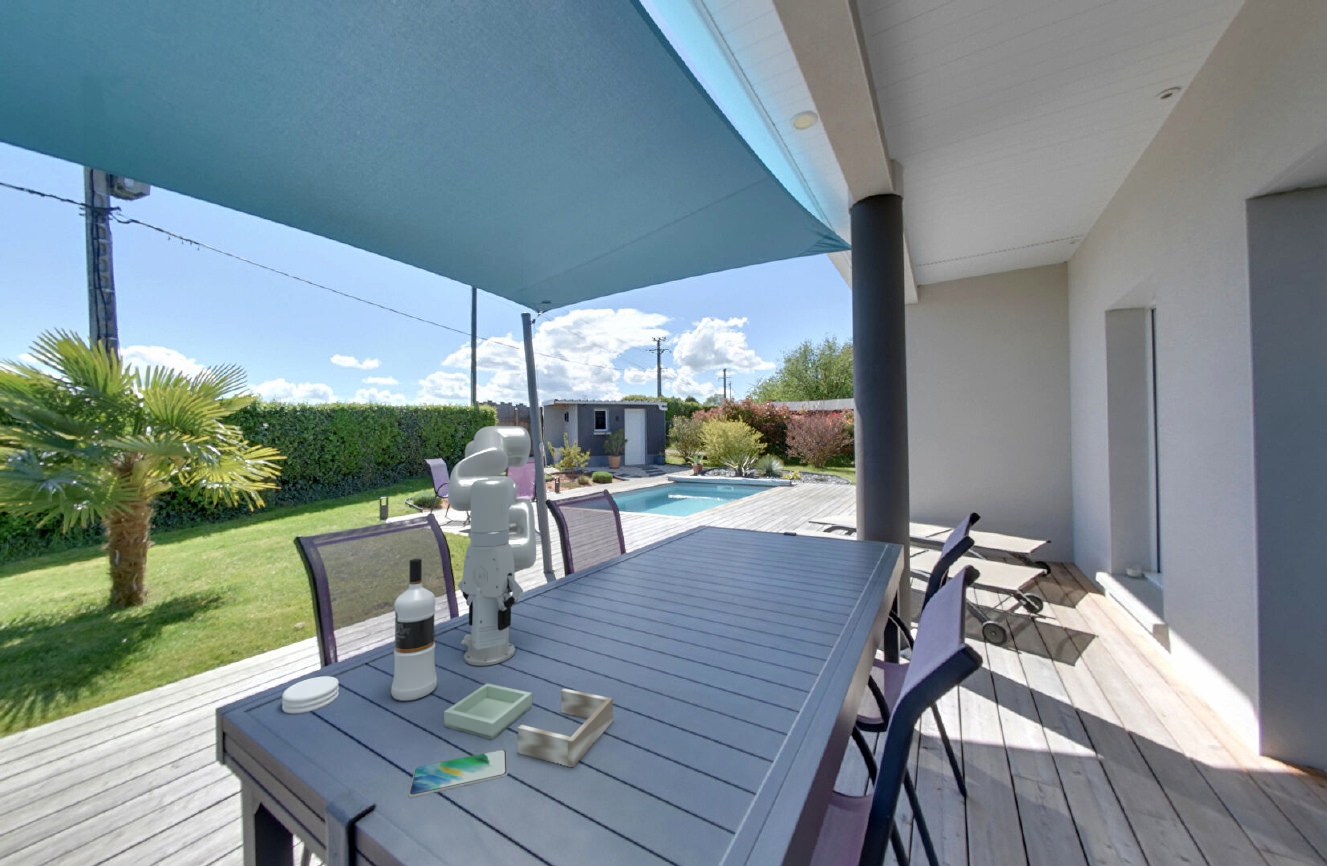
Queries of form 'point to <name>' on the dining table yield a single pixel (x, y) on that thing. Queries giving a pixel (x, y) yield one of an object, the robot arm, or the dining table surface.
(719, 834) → the dining table surface
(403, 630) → the vodka
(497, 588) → the robot arm
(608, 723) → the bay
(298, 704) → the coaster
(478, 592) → the skincare box
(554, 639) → the dining table surface
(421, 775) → the smartphone
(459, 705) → the tray
